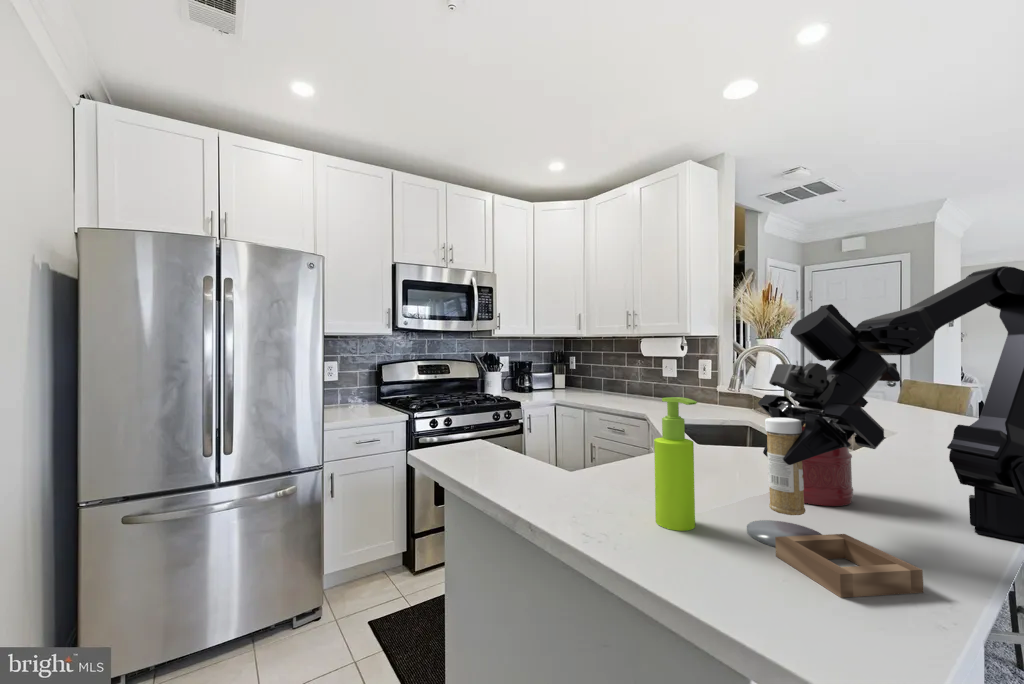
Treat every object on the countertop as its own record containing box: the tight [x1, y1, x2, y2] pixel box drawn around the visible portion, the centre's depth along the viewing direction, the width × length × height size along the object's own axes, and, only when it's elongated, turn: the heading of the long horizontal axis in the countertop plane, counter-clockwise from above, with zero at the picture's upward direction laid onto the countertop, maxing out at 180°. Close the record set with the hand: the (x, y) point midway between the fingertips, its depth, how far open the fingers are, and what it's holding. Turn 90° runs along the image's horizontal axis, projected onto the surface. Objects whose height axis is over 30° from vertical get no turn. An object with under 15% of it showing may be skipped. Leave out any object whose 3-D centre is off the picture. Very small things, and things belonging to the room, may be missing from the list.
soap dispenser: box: [653, 396, 698, 532], centre depth 68 cm, size 6×7×20 cm
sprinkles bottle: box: [764, 417, 806, 516], centre depth 63 cm, size 5×5×14 cm
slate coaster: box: [746, 519, 823, 548], centre depth 63 cm, size 10×10×1 cm
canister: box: [802, 424, 854, 507], centre depth 82 cm, size 13×13×18 cm
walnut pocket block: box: [775, 533, 924, 599], centre depth 52 cm, size 10×10×2 cm
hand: (775, 458), depth 63 cm, fingers closed on sprinkles bottle, 4 cm apart
